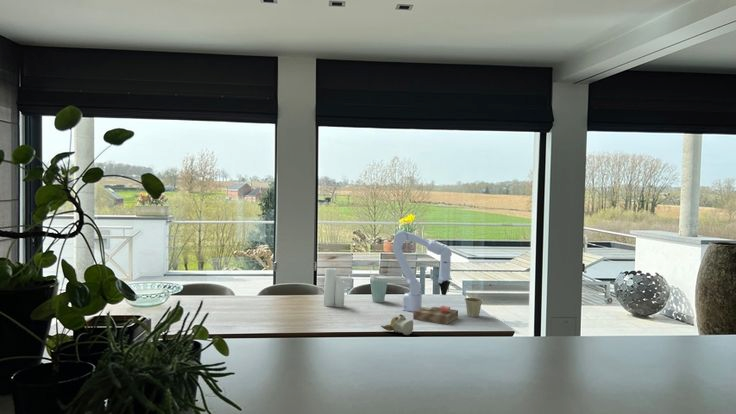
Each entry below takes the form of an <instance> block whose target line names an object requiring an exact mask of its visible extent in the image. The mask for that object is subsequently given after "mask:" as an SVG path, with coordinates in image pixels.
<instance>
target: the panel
mask: <svg viewBox="0 0 736 414" xmlns="http://www.w3.org/2000/svg"><path fill="white" fill-rule="evenodd" d="M422 307H423V306H421V308H419V309H417V310H415V311H414V312H413V319H412V320H416V319H417V320H418V321H422V320H423V321H424V322H429V321H430V323H435V322H436V323H435V324H441V323H442V324H443V325H449V324H450V323H452V322H454V321H456V320H457V319H458V318H459V310H456V309H453V308H452V309H451V308H450V310H448V312H447V313H443V312H441V310H439V307H436V306H434V308H433V309H432V310H425V309H422ZM453 320H454V321H453ZM423 321H422V322H423ZM448 323H449V324H448Z"/></svg>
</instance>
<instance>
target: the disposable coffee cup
mask: <svg viewBox="0 0 736 414" xmlns="http://www.w3.org/2000/svg"><path fill="white" fill-rule="evenodd" d="M369 281H370V288H371V300H372V302H373V303H377V304H378V303H384V301H385V299H386V293H387V286H388V282H389V277H387V275H381V274H370V277H369Z"/></svg>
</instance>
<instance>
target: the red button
mask: <svg viewBox="0 0 736 414" xmlns="http://www.w3.org/2000/svg"><path fill="white" fill-rule="evenodd" d="M438 308H439V310H441V312H443V313H447V312H448V310H450V309H451V307H450V306H445V305H441V306H440V307H438Z"/></svg>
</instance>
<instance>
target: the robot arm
mask: <svg viewBox="0 0 736 414" xmlns="http://www.w3.org/2000/svg"><path fill="white" fill-rule="evenodd" d="M406 242H409V243H410V242H413V243H416V244H419V245H422V246H424V247H426V249H427V251H429V252H431V253H432V254H435V255H438V256H439V255H440V260H439V269H438V270H439V274H438V279H437V283H438V286H439V289H440V294H441V296H447V293H448V289H449V286H450V285H451V281H452V280H453V278H451V264H452V263H451V259H452V258H451V257H452V250H451V249H450V248H449V247H448V246H445V245H444V244H441V243H438V242H437V241H436V240H427V239H425V238H423V237H421V236H418V235H417V234H414V233H413V232H409V231H405V230H403V229H399V230H397V231H396V233H395V234H394V237H393V242H392V248H391V250H392V252H393V254H394V257H395V259H396V261H397V262H398V264H399V266H400V269H401V271H402V272H403V275H404V277H405V279H406V281H407V284H408V287H409V292H405V293H404V295H403V302H402V311H405V312H413V313H414V311H415V310H417V309H419V308H421V307H422V304H423V303H422V300H423V293H422V284H421V282H420V280H418V279H417V277H416V275H415V274H414V272H413V270H412V268H411V266H410V264H409V262H408V260H407V258H406V256H405V253H404V252H403V250H402V249H403V246H404V244H405V243H406Z"/></svg>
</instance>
